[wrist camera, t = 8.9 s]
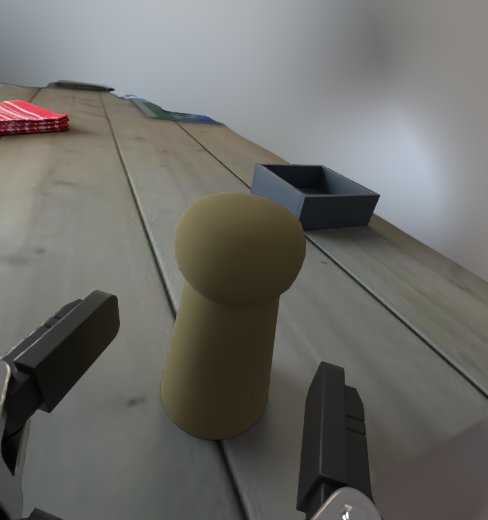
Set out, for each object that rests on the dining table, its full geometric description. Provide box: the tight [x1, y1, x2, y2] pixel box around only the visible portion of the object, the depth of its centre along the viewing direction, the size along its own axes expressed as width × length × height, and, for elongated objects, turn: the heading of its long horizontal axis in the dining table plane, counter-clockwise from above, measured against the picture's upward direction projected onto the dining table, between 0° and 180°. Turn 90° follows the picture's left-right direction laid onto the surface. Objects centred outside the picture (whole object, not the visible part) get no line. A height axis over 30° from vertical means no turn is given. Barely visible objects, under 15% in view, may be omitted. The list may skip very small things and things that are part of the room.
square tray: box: [251, 163, 380, 230], centre depth 42 cm, size 12×12×4 cm
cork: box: [161, 192, 306, 440], centre depth 14 cm, size 6×6×11 cm
